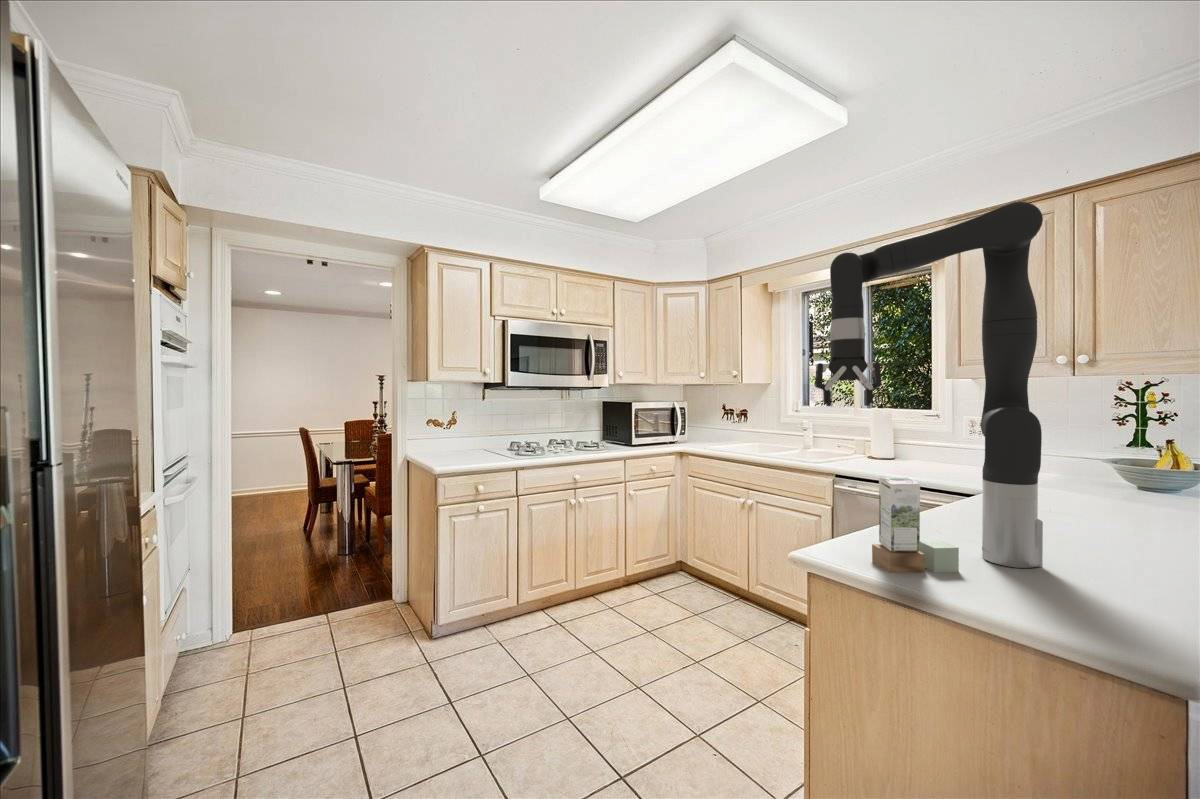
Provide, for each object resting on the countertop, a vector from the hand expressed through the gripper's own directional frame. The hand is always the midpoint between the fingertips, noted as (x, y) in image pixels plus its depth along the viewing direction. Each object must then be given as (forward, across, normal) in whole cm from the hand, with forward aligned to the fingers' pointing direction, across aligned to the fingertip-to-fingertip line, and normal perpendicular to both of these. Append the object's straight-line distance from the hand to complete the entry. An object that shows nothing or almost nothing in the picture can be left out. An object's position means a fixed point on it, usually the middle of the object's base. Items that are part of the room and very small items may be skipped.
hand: (847, 405), depth 124 cm
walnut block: (+34, -6, +16) cm, 38 cm away
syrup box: (+30, -7, +16) cm, 34 cm away
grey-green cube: (+33, -14, +15) cm, 39 cm away
